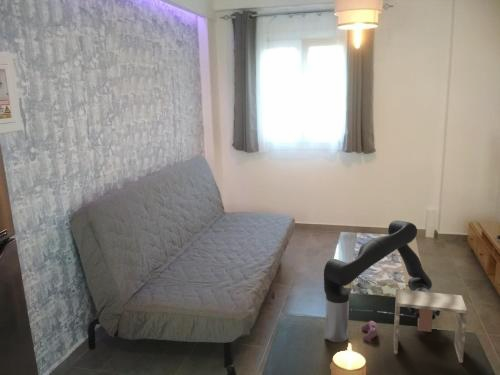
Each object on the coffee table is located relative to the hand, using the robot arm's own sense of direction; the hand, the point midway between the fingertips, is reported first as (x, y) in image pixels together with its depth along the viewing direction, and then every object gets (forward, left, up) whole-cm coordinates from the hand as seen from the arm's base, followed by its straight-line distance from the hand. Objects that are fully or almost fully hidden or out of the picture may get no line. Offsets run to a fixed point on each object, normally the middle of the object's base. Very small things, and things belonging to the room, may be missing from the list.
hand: (425, 316), depth 185 cm
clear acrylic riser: (0, -9, -9) cm, 13 cm away
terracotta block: (0, +3, -6) cm, 7 cm away
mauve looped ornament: (-22, -4, -10) cm, 24 cm away
